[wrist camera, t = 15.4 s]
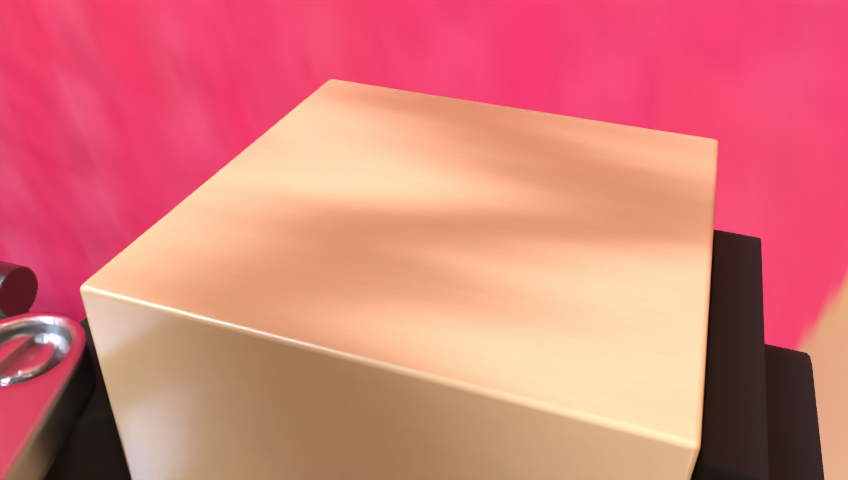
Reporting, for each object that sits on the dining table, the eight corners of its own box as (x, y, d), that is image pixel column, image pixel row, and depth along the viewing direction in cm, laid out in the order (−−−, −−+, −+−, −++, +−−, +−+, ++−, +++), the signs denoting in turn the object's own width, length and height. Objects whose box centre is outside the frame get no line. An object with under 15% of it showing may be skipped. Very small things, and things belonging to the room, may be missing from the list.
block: (720, 138, 9) (701, 446, 5) (644, 436, 12) (593, 787, 8) (329, 76, 10) (74, 287, 6) (342, 358, 13) (168, 626, 9)
